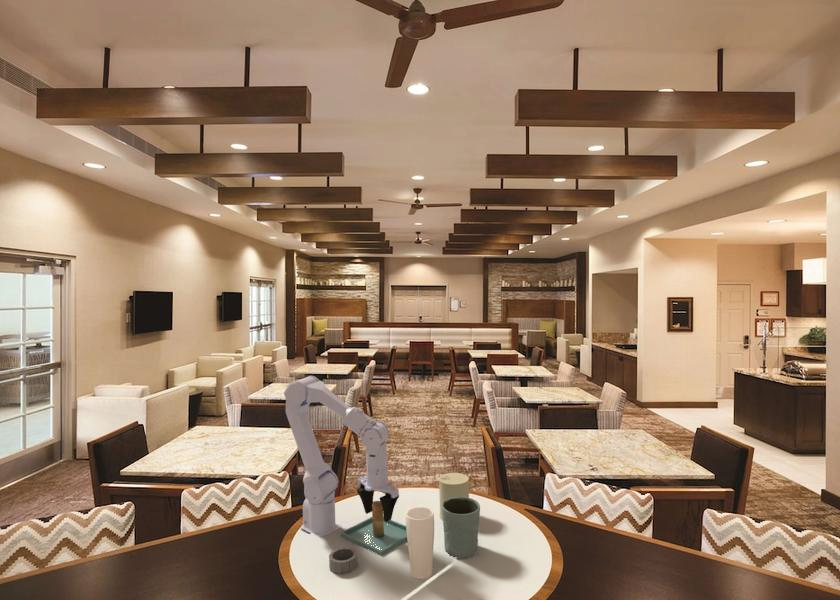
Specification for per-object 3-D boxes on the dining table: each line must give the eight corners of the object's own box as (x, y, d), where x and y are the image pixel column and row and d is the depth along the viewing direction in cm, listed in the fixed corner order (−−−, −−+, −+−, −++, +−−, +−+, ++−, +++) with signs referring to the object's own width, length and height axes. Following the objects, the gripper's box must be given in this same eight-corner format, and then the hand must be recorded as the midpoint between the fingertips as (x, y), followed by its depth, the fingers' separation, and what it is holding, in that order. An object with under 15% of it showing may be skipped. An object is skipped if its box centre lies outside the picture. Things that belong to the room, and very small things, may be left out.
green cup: (453, 536, 135) (452, 493, 135) (487, 545, 130) (486, 501, 130) (435, 554, 126) (434, 508, 126) (471, 564, 121) (470, 517, 121)
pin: (371, 535, 136) (369, 503, 135) (378, 531, 138) (377, 499, 138) (378, 538, 134) (377, 506, 133) (386, 534, 136) (385, 502, 136)
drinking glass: (433, 584, 114) (431, 520, 113) (404, 581, 115) (402, 518, 115) (437, 568, 120) (436, 507, 120) (410, 565, 122) (409, 506, 121)
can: (441, 508, 152) (440, 470, 152) (470, 509, 151) (469, 471, 151) (438, 522, 143) (436, 482, 143) (469, 524, 142) (468, 483, 142)
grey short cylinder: (324, 569, 121) (323, 555, 121) (345, 557, 126) (344, 544, 126) (341, 579, 116) (341, 565, 116) (363, 566, 122) (362, 553, 121)
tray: (340, 538, 136) (340, 532, 136) (377, 519, 146) (377, 514, 146) (380, 557, 125) (380, 551, 125) (417, 536, 136) (416, 530, 136)
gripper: (348, 466, 137) (350, 514, 138) (384, 478, 128) (386, 529, 128) (367, 459, 142) (368, 505, 143) (403, 470, 133) (404, 519, 133)
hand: (378, 516), depth 136 cm, fingers open, 7 cm apart
